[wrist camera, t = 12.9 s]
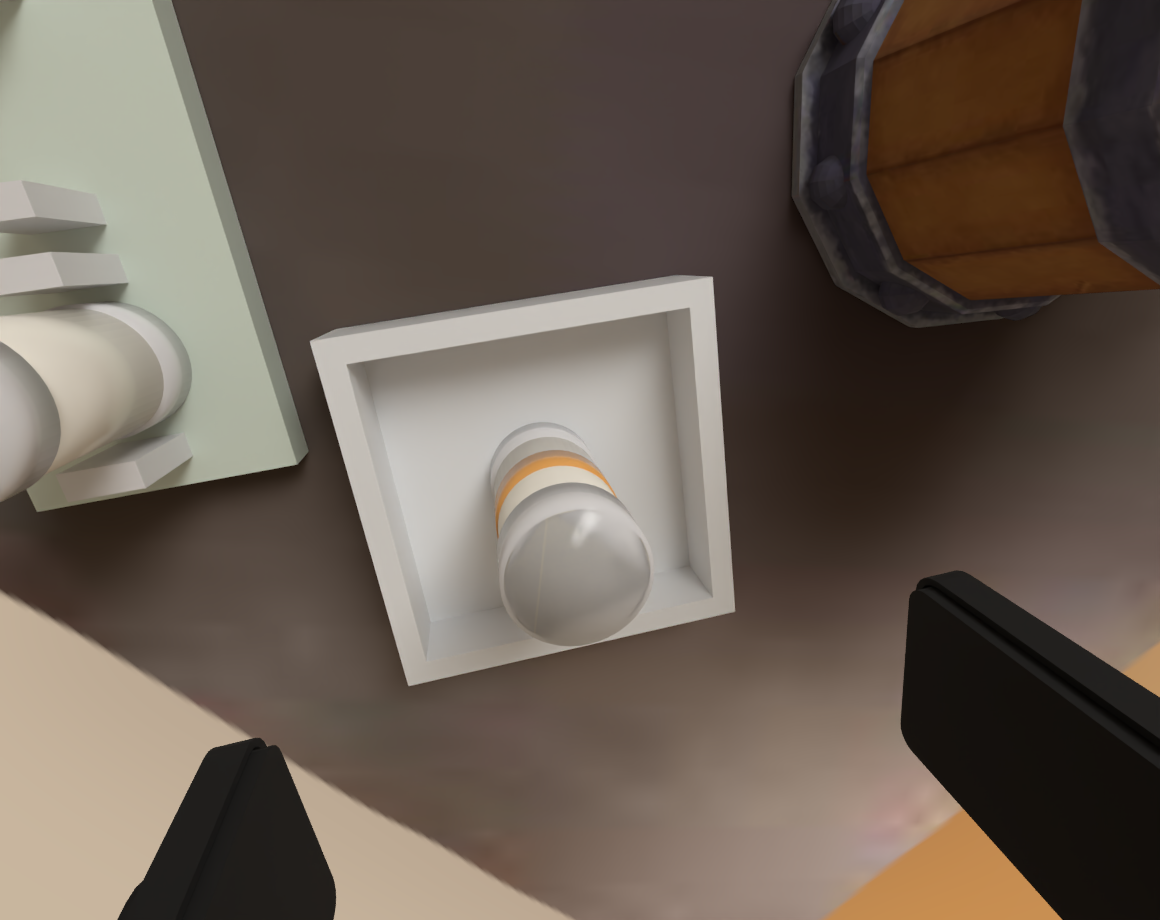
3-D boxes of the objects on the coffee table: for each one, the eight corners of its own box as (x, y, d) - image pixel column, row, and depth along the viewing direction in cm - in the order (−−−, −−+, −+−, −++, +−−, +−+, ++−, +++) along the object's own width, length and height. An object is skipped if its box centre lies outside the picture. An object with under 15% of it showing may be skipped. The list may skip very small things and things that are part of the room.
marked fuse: (480, 432, 21) (485, 523, 14) (585, 413, 22) (645, 490, 14) (499, 529, 23) (514, 660, 15) (599, 509, 23) (661, 627, 16)
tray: (335, 329, 20) (309, 341, 17) (676, 275, 22) (712, 276, 19) (416, 629, 24) (408, 686, 21) (701, 567, 26) (735, 611, 22)
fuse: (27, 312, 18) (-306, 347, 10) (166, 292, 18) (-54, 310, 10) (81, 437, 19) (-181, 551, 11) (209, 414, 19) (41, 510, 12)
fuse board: (-346, -414, 13) (-719, -724, 9) (42, -421, 14) (-136, -707, 10) (66, 495, 21) (-38, 554, 16) (308, 451, 22) (268, 496, 17)
